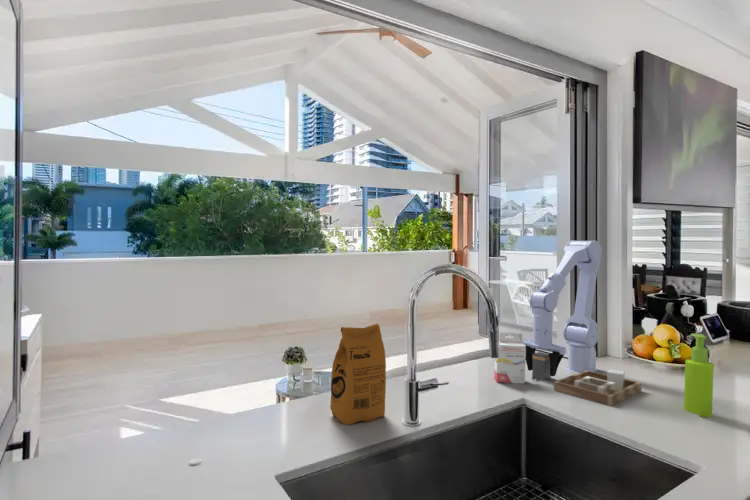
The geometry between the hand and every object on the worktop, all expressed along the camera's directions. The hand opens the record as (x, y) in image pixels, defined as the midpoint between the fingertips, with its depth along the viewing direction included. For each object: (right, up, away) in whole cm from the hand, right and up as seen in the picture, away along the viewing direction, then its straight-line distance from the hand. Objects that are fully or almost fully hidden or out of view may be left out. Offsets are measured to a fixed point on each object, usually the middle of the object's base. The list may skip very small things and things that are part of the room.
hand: (541, 372), depth 145 cm
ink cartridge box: (-11, -2, -3) cm, 11 cm away
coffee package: (-57, -2, -33) cm, 66 cm away
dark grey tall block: (0, -2, 0) cm, 2 cm away
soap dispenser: (+30, -3, -27) cm, 41 cm away
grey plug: (+18, -2, -10) cm, 21 cm away
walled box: (+12, -2, -12) cm, 17 cm away
